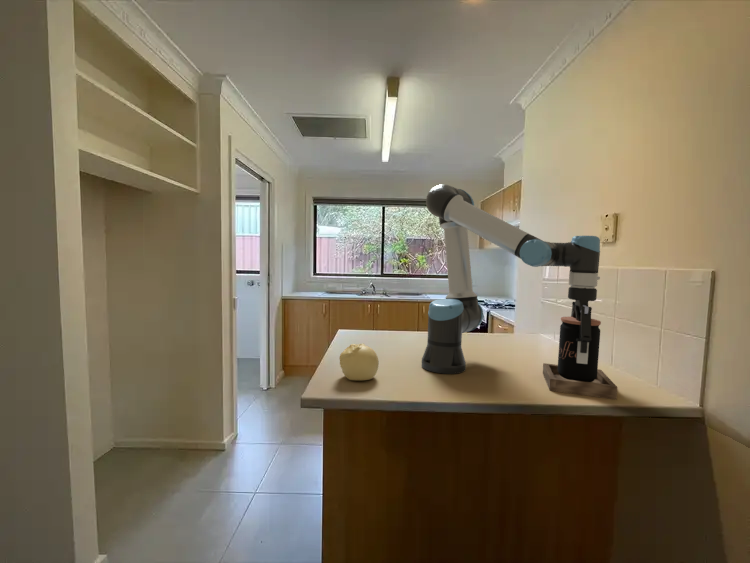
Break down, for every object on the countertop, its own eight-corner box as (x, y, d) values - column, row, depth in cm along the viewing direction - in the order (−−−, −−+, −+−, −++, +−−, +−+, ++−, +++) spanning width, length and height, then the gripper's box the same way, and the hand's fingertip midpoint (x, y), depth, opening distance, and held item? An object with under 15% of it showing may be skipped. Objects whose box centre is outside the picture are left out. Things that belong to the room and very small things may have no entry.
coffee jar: (550, 371, 115) (553, 316, 114) (582, 371, 116) (585, 316, 115) (570, 382, 105) (574, 322, 104) (605, 383, 105) (609, 323, 104)
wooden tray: (549, 390, 105) (550, 378, 105) (542, 373, 121) (543, 363, 121) (616, 399, 100) (617, 387, 100) (600, 380, 116) (600, 369, 116)
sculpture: (347, 370, 119) (348, 338, 118) (382, 374, 115) (383, 341, 114) (333, 381, 108) (334, 346, 107) (371, 386, 104) (372, 350, 103)
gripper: (608, 290, 96) (602, 370, 98) (587, 285, 118) (583, 350, 120) (576, 289, 99) (571, 367, 100) (562, 283, 121) (558, 348, 122)
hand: (577, 358), depth 110 cm, fingers closed on coffee jar, 11 cm apart
